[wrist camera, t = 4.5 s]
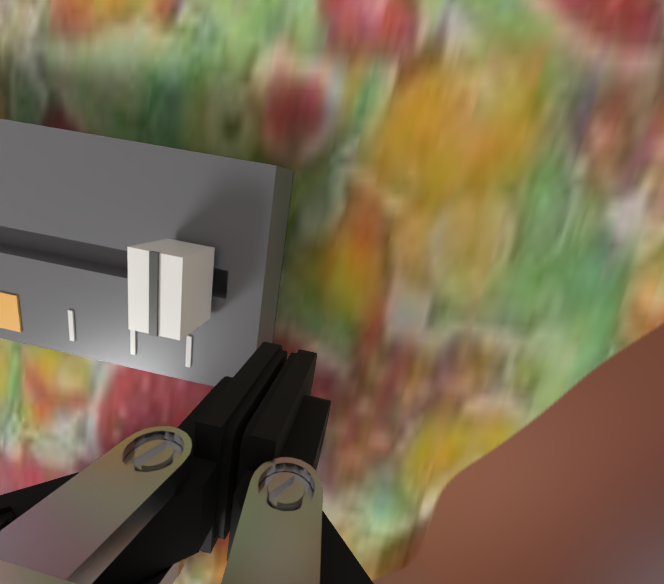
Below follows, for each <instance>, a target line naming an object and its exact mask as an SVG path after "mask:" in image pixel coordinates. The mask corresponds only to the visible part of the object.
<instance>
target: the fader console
mask: <svg viewBox="0 0 664 584" xmlns="http://www.w3.org/2000/svg"><path fill="white" fill-rule="evenodd" d="M293 173H294V171H293V170H290V169H287V168H283V167H280V166H276V165H270V164H264V163H259V162H253V161H247V160H241V159H235V158H229V157H223V156H217V155H212V154H206V153H200V152H194V151H188V150H182V149H176V148H170V147H165V146H159V145H153V144H147V143H141V142H135V141H129V140H123V139H117V138H112V137H106V136H100V135H94V134H88V133H82V132H76V131H70V130H65V129H59V128H53V127H47V126H41V125H35V124H29V123H23V122H18V121H12V120H6V119H0V338H3V339H7V340H12V341H16V342H21V343H25V344H29V345H34V346H38V347H43V348H47V349H51V350H56V351H60V352H64V353H69V354H73V355H78V356H82V357H86V358H91V359H95V360H100V361H104V362H108V363H113V364H117V365H121V366H126V367H130V368H135V369H139V370H143V371H148V372H152V373H156V374H161V375H165V376H170V377H174V378H178V379H183V380H187V381H192V382H196V383H200V384H205V385H209V386H213V387H215V386H216V385H217V384H218V383H219V381H220V380H221V379H222V378H224V377H225V376H228V377H234V376H235V375H236V373H237V372H238V371H239V370H240V369H241V367H242V366H243V365H244V364H245V363H246V362H247V360H248V359H249V358H250V357H251V356H252V355H253V353H254V352H255V351H256V350H257V349H258V348H259V346H260V345H261V344H262V343H263V342H269V343H273V334H274V326H275V318H276V310H277V302H278V294H279V286H280V278H281V270H282V262H283V254H284V246H285V238H286V230H287V222H288V214H289V206H290V198H291V190H292V182H293ZM163 239H173V240H178V241H183V242H189V243H194V244H199V245H204V246H209V247H214V248H215V251H214V267H213V269H214V270H213V283H212V299H211V315H210V319H209V320H207V321H206V322H205V323H203V324H202V325H200V326H199V327H198V328H196V329H195V330H194V331H192V332H191V333H189V334H188V335H187V336H185V337H184V338H183V339H181V340H176V339H171V338H166V337H162V336H157V337H155V336H150V335H149V334H148V333H143V332H139V331H134V330H130V329H128V261H127V247H129V246H133V245H138V244H143V243H148V242H153V241H158V240H163Z"/></svg>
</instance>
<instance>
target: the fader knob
mask: <svg viewBox="0 0 664 584" xmlns="http://www.w3.org/2000/svg"><path fill="white" fill-rule="evenodd" d="M214 251H215V248H214V247H209V246H204V245H199V244H194V243H189V242H183V241H178V240H173V239H163V240H158V241H153V242H148V243H143V244H138V245H133V246H129V247H127V261H128V329H130V330H134V331H139V332H143V333H148V334H149V335H150V336H155V337H157V336H162V337H166V338H171V339H176V340H181V339H183V338H184V337H185V336H187V335H188V334H189V333H191V332H192V331H194V330H195V329H196V328H198V327H199V326H200V325H202V324H203V323H205V322H206V321H207V320H209V319H210V315H211V299H212V283H213V270H214V269H213V267H214Z"/></svg>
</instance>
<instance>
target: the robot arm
mask: <svg viewBox="0 0 664 584" xmlns="http://www.w3.org/2000/svg"><path fill="white" fill-rule="evenodd" d="M316 359H317V353H314V352H309V351H305V350H300V349H299V351H298V352H297V353H291V354H290V356H289V357H288V359H287V351H283V350H282V345H278V344H273V343H269V342H263V343H262V344H261V345H260V346H259V348H258V349H257V350H256V351H255V352H254V353H253V355H252V356H251V357H250V358H249V359H248V360H247V362H246V363H245V364H244V365H243V366H242V367H241V369H240V370H239V371H238V372H237V373H236V375H235V376H234V377H228V376H225V377H224V378H222V379H221V380H220V381H219V383H218V384H217V385H216V386H215V387H214V388H213V389H212V390H211V391H210V392H209V394H208V395H207V396H206V397H205V398H204V399H203V400H202V401H201V402H200V403H199V405H198V406H197V407H196V408H195V409H194V410H193V411H192V412H191V413H190V415H189V416H188V417H187V418H186V419H185V420H184V421H183V422H182V423H181V424H180V426H179V427H178V428H175V427H171V426H157V427H151V428H146V429H144V430H141V431H138V432H136V433H134V434H132V435H131V436H129V437H127V438H126V439H124V440H123V441H122V442H120V443H119V444H118V445H116V446H115V447H114V448H112V449H111V450H109V451H108V452H107V453H105V454H104V455H103V456H101V457H100V458H99V459H97V460H96V461H95V462H93V463H92V464H90V465H89V466H88V467H86V468H85V469H84V470H82V471H81V472H78V473H75V474H71V475H68V476H65V477H61V478H58V479H54V480H51V481H48V482H44V483H41V484H37V485H34V486H31V487H27V488H24V489H20V490H17V491H14V492H10V493H7V494H3V495H0V584H173V582H174V581H175V580H176V578H177V577H178V575H179V573H180V572H181V570H182V568H183V566H184V562H185V558H188V557H190V556H192V555H194V554H196V553H198V552H199V550H200V551H203V552H207V553H211V551H212V549H213V547H214V545H215V543H216V541H217V539H218V538H222V539H225V538H226V537H227V535H228V533H229V531H230V535H229V545H228V554H227V565H226V568H225V572H224V575H223V579H222V582H221V584H373V582H372V581H371V579H370V578H369V577H368V575H367V574H366V572H365V571H364V569H363V568H362V567H361V565H360V564H359V562H358V561H357V559H356V558H355V556H354V555H353V554H352V552H351V551H350V549H349V548H348V546H347V545H346V544H345V542H344V541H343V539H342V538H341V536H340V535H339V534H338V532H337V531H336V529H335V528H334V526H333V525H332V523H331V522H330V521H329V519H328V518H327V516H326V515H325V513H324V512H323V511H322V502H323V487H322V480H321V478H320V477H319V475H318V473H317V471H316V469H317V465H318V461H319V457H320V453H321V449H322V445H323V440H324V436H325V431H326V426H327V421H328V416H329V411H330V405H331V401H330V400H325V399H321V398H317V397H313V396H310V394H311V388H312V382H313V377H314V371H315V365H316ZM286 360H287V361H286Z"/></svg>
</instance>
